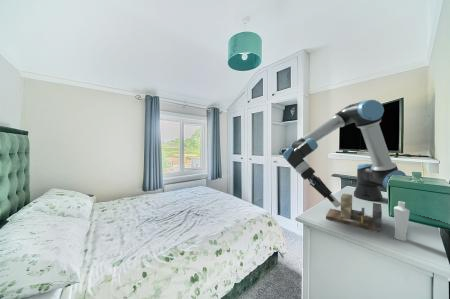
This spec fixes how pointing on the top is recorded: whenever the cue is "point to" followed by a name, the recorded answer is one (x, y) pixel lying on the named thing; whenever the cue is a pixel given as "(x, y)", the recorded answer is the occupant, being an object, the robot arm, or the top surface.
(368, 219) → the base
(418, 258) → the top surface
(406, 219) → the perfume bottle
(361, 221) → the peak needle
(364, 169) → the robot arm
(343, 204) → the gauge plunger
